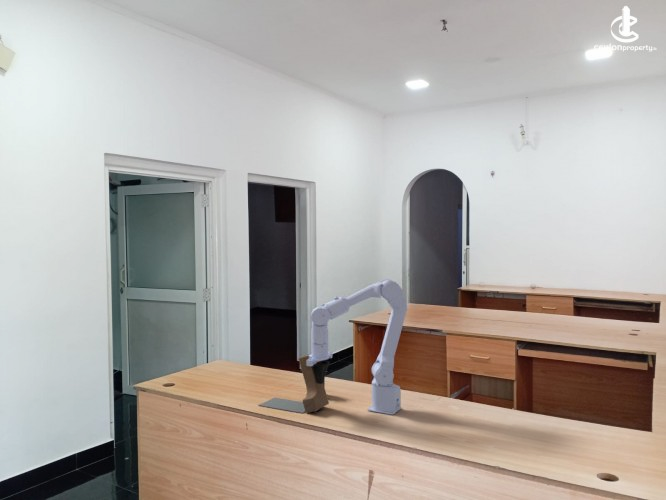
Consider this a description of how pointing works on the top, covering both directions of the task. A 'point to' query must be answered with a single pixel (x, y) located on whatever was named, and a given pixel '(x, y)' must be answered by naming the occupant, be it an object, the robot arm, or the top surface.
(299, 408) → the mat
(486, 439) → the top surface
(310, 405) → the wooden block
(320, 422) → the top surface
